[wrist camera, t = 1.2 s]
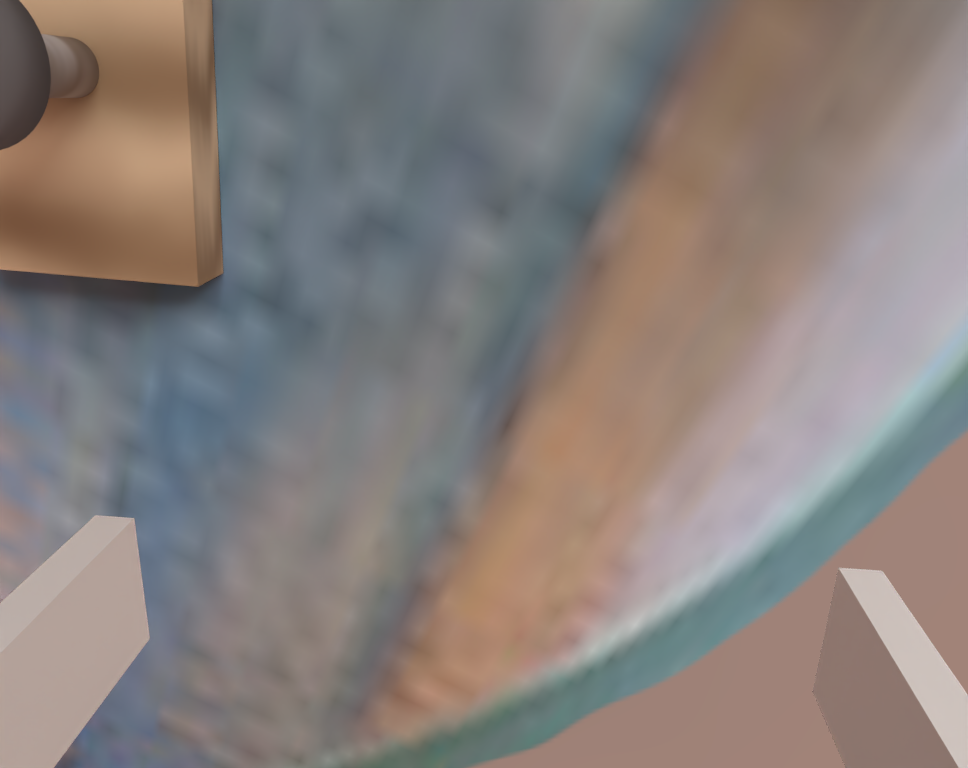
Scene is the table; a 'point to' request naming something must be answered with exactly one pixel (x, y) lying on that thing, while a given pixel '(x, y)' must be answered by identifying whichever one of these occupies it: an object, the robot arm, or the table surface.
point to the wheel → (21, 73)
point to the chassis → (119, 147)
